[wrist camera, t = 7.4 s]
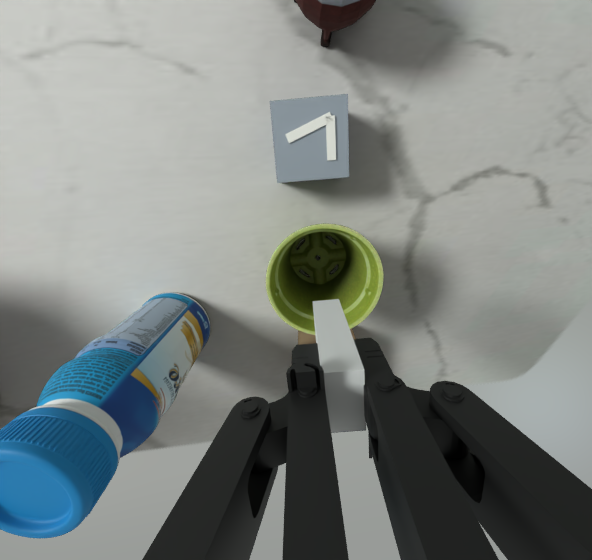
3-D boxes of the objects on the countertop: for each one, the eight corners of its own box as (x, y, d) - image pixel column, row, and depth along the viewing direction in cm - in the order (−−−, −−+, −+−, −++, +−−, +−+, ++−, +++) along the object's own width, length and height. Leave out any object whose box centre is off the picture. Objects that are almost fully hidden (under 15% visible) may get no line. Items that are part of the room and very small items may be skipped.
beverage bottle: (168, 274, 32) (-26, 406, 13) (227, 321, 34) (133, 498, 15) (127, 324, 34) (-90, 501, 15) (185, 366, 36) (55, 571, 17)
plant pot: (380, 246, 31) (409, 269, 22) (326, 312, 33) (335, 355, 25) (308, 193, 29) (311, 198, 21) (258, 267, 32) (243, 296, 23)
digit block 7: (281, 182, 29) (277, 182, 24) (275, 115, 27) (269, 100, 22) (341, 178, 29) (349, 177, 24) (339, 109, 27) (348, 93, 22)
